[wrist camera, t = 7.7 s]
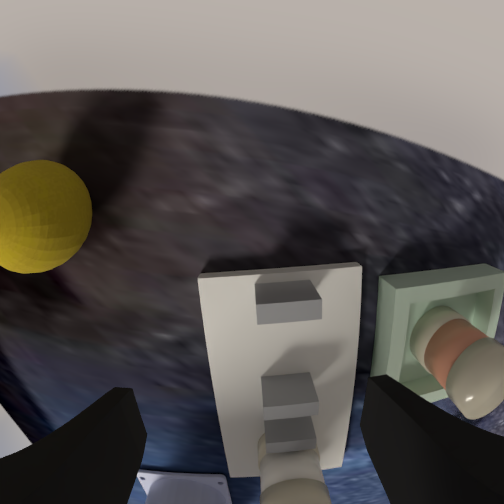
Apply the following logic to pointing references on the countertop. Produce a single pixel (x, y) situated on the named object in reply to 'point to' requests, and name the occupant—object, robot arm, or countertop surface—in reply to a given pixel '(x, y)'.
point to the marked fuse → (460, 360)
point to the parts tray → (417, 304)
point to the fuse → (291, 477)
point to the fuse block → (282, 358)
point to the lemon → (41, 216)
